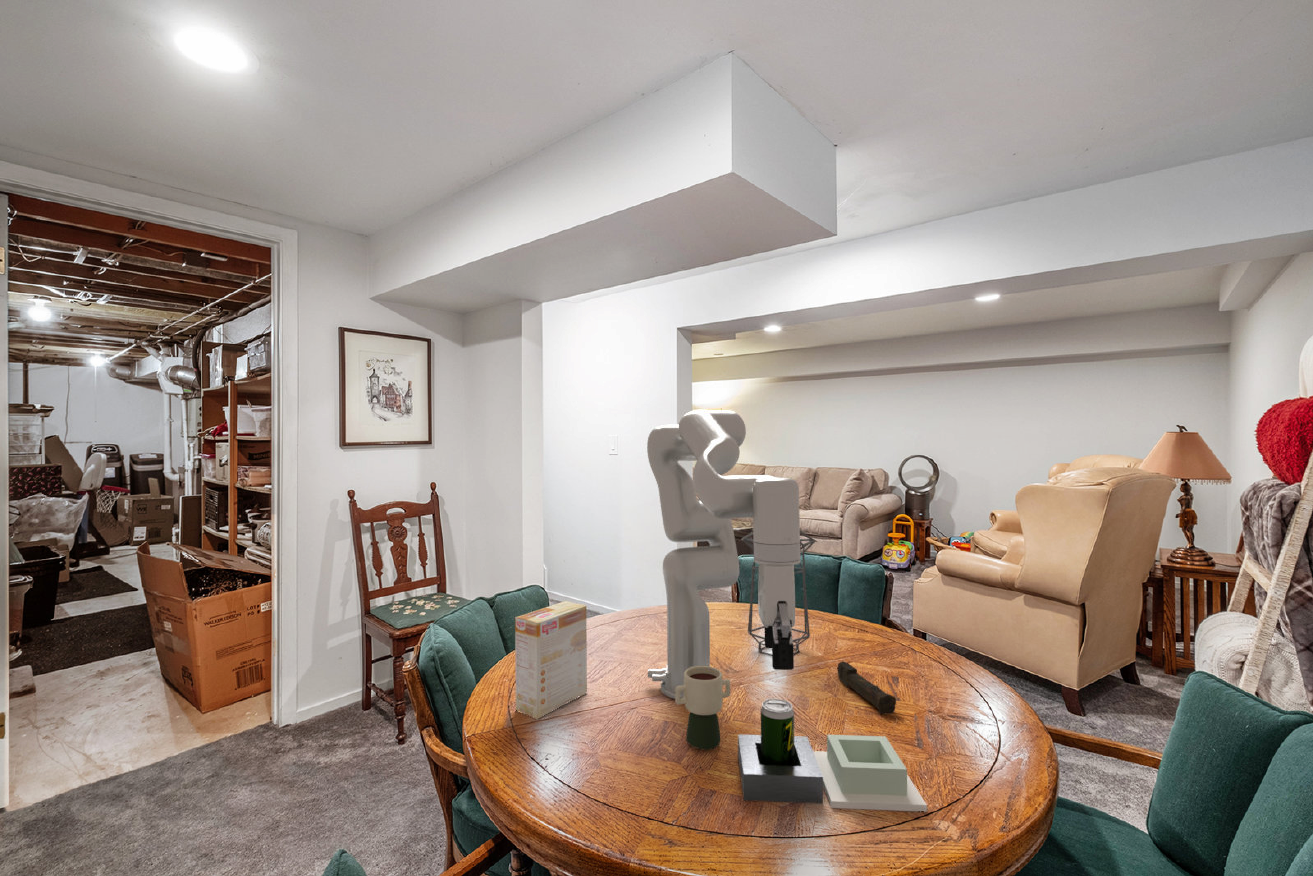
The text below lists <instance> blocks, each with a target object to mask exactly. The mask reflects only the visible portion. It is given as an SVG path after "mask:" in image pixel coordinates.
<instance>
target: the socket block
mask: <svg viewBox="0 0 1313 876" xmlns="http://www.w3.org/2000/svg"><path fill="white" fill-rule="evenodd" d="M813 751H814V749H813V747H812V745H811V741H810V740H809V737H808V736H800V735H794V766H778V765H761V734H738V733H737V759H738V767H739V773H740V780H741V790H742V796H743V801H752V802H756V801H757V802H775V803H776V802H780V803H799V804H800V803H802V804H803V803H805V804H824V787H823V776H822V773H821V771H820V768H819V765H818V763H817V760H816V758H815V755H814V752H813Z"/></svg>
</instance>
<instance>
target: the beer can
mask: <svg viewBox="0 0 1313 876" xmlns="http://www.w3.org/2000/svg"><path fill="white" fill-rule="evenodd" d="M793 708H794V707H793V704H792V703H791V702H789V701H788V700H785V699H781V698H767V699H765V700H763V701H762V703H761V708H760V735H761V765H778V766H794V736H795V713H794V712H795V711H794V709H793Z"/></svg>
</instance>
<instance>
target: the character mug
mask: <svg viewBox="0 0 1313 876" xmlns="http://www.w3.org/2000/svg"><path fill="white" fill-rule="evenodd" d="M723 686H725V688H724V689H725V691H724V690H723ZM680 691H684V698H681V699H680ZM730 696H731V681H730V679H729V678H723V673H722V670H720V669H718V668H717V667H713V666H711V665H710V666H694V667H690V668H688V669H686V670H685V672H684V685H681V686H677V687H676V689H675V699H674V700H675V701H674V703H675V705H684V706H685V709H686V710H687V711H688V712H689V714H688V720H687V728H686V737H685V738H686V739H685V740H686V742H687V744H689V745H690V746H691V747H694V748H697V749H698V750H705V751H710V750H713V749H716V748H717V747H719V746H720V743H721V730H720V724H719V716H718V714H719V712H721V711H722V707H723V703H724V698H729V697H730Z"/></svg>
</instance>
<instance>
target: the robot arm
mask: <svg viewBox="0 0 1313 876" xmlns="http://www.w3.org/2000/svg"><path fill="white" fill-rule="evenodd" d="M746 431H747V430H746V424H745V422H744V420H743V418H742V416H741V415H740V414H738V413H737V412H735V411H733V410H726V409H725V410H721V409H719V410H717V409H715V410H714V409H709V410H708V409H697V410H692V411H689V412H687V413H686V414H684V415H683V416H682V417H681V418H680V420H679V421H678V424H666V425H665V424H663V425H660V426H657V427H655V428H654V429H652V430H651V432H650V433H649V435H648V437H647V443H646V445H647V446H646V449H647V451H646V452H647V458H648V462H649V465H650V470H651V471H652V474H653V476H654V479H655V481H656V485H657V489H658V495H659V502H660V511H661V517H662V525H663V530H664V534H665V536H666V537H667V539H668V540H669V541H671V542H674V543H695V542H708V543H709V545H708V546H707V545H706V546H689V547H682V548H681V547H680V548H677V549H676V548H675V549H673V550H671V551H668V553H667V554H666V555H665V556H664V558H663V561H662V573H663V574H662V575H663V579H664V581H663V582H664V584H665V585H664V586H665V595H666V613H667V614H666V616H667V617H666V619H667V623H666V625H667V627H666V629H667V630H666V631H667V632H666V636H667V641H666V642H667V646H666V647H667V648H666V649H667V650H666V651H667V652H666V654H667V655H666V656H667V657H666V658H667V662H666V667H662V668H661V669H658V668H647V678H648V679H649V678H650V679H651V682H660V691H661V693H662V694H663V695H665V696H666V697H668V698H670V699H673V700H675V689H676V687H677V686H681V685H684V672H685V670H686V669H688V668H690V667H694V666H710V667H711V663H710V662H711V657H710V656H711V654H710V653H711V652H710V650H711V649H710V648H711V645H710V644H711V643H710V642H711V641H710V640H711V638H710V635H711V634H710V633H711V631H710V630H711V629H710V628H711V627H710V619H711V618H710V609H709V606H708V604H707V603H706V602H705V600H704V598H702V597H701V594H700V593H699V592H700V591H705V590H713V589H723V588H729V587H732V586H734V585H735V584H736V583H737V582H738V579H739V577H740V561H739V555H738V549H737V544H736V539H735V534H734V533H735V531H734V527H733V522H732V519H744V518H745V519H747V518H748V519H749V518H752V521H753V522H752V523H753V524H752V526H753V527H752V528H753V529H752V531H753V532H752V533H753V535H752V536H753V538H752V539H753V540H754V543H753V546H754V551H753V563H754V562H756V563H757V564H758V565H759V568H758V570H759V571H758V592H757V593H758V600H757V601H758V602H757V603H758V605H757V606H758V607H757V611H758V612H757V613H758V616H759V618H760V621H761V623H762V626H764V628H763V629H764V637H765V641H764V644H765V646H764V647H766V649H771V651H772V652H771V654H772V656H771V657H772V659H771V661H772V665H771V666H772V669H773V670H775V671H776V670H778V671H782V670H783V671H792V670H794V667H795V664H794V663H795V661H794V658H795V657H794V656H795V654H794V650H795V649H794V648H795V647H793V645H794V642H793V640H794V639H793V630H791V628H793V627H795V624H796V590H795V589H796V586H795V579H796V577H795V574H794V572H795V568H794V567H795V565H800V563H801V556H800V553H801V550H800V539H801V534H800V531H801V528H800V527H801V525H800V523H801V522H800V521H801V520H800V517H801V516H800V488H799V487H800V486H799V484H798V482H797V480H795V479H793V478H789V477H775V476H773V475H769V474H767V475H766V474H741V475H740V474H738V475H725V474H726V473H728V472H730V471H731V470H732V469H733V468H734V467H736V464H737V463H738V461H739V458H740V451H741V450H740V447H741V446H742V445H743V443H744V442H745V439H746V434H747V433H746ZM679 461H680V462H681V461H684V462H685V461H686V462H687V461H688V462H689V461H695V462H696V463H695V464H694V468H693V474H692V475H693V478H692V476H691V475H690V474H689V472H688V471H687V470H686V469H685V468H684V467H683V466H682V465H681V464H680V463H679ZM756 563H755V564H756ZM681 698H684V691H680V699H681Z"/></svg>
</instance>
